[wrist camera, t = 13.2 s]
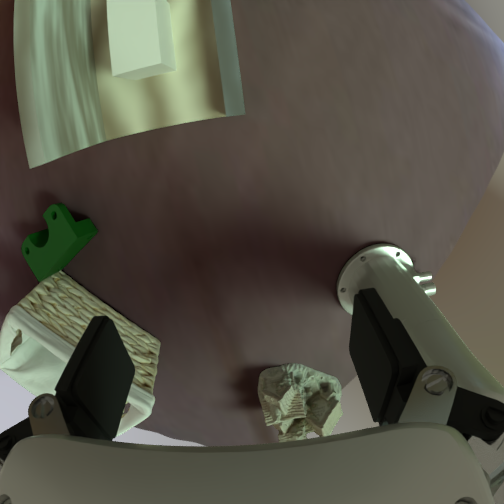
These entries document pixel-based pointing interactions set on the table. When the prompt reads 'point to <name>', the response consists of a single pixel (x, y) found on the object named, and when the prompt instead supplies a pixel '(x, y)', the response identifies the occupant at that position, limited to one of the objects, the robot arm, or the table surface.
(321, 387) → the ceramic cottage
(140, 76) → the mini cabinet
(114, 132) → the curved railed panel
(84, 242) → the clamp
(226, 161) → the table surface
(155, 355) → the storage basket
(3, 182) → the table surface
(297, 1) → the table surface
